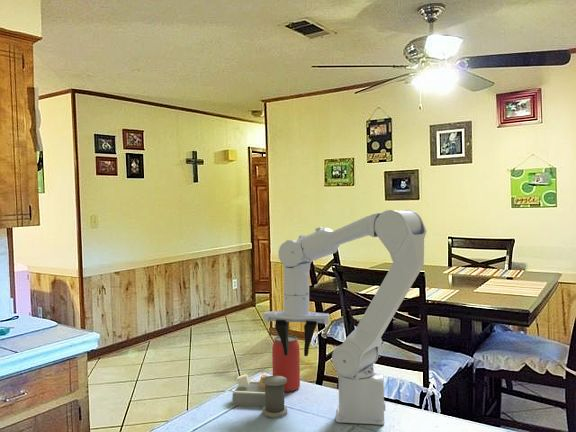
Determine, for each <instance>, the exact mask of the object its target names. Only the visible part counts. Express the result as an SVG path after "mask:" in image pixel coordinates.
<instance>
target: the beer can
mask: <svg viewBox="0 0 576 432" xmlns="http://www.w3.org/2000/svg"><path fill="white" fill-rule="evenodd" d="M273 339H274V341H273V344H272V348H271V349H272V351H271V352H272V358H271V359H272V376H283V377H285V378H287V383H285V384H284V393H286V392H287V393H290V392H293V391H296V390H299V388H300V386H301V370H300V369H301V368H300V367H301V365H300V359H301V358H300V353H301V352H300V343H299V341H298V337H297V336H294V335H289V334H288V342H289V353H288V355H284V350H283V346H282V342H281V339H280V337H279V335H277V336H275V337H274V338H273Z"/></svg>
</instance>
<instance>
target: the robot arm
mask: <svg viewBox="0 0 576 432" xmlns="http://www.w3.org/2000/svg"><path fill="white" fill-rule="evenodd" d="M314 230H315V231H314V232H312V233H310V234H307V235H305V234H300V235H298V238H297V239H296V240H291V239H287V240H286V241H284V242H283V243H282V244H280V246H279V249H278V259H279V261H280V263H281V264H283V310H279V311H278V310H277V311H276V310H274V311H265V312H264V313H263V322H264V323H265V322H266V323H268V322H275V324H274V327H275V330H276V333H277V334H278V336H279V337H280V339H281V342H282V346H283V350H284V355H288V353H289V342H288V335H289V327H290V326H289V325H290V323H304V325H303V328H304V330H303V331H304V347H303V348H304V349H303V354H304V355H303V356H304V357H308V355H309V349H310V344H311V341H312V338H313V334H314V333H315V330H316V328H317V325H318V324H324V325H329V324H330V313H327V312H326V313H324V312H314V311H310V270H311V264H312V262H313V261H316V260H318V259H322V258H325V257H328V256H330V255H333V254H336V253H337V252H338V250H339V247H340V245H343V244H346V243H349V242H353V241H355V240H357V239H358V240H359V239H361V238H365V237H367V236H370V237H372V238H378V239H379V240H380V242H381V243H382V244H383V246H384V247H385V249H386V250H387V251H388V253H389V255H390V258H391V261H392V265H391V266H390V268H389V270H388V272H387V273H386V275H385V277H384V279H383V280H382V282H381V283H380V285H379V288H378V289H377V291H376V293H375V295H374V296H373V297H372V300H371V301H370V303H369V305H368V307H367V308H366V310H365V312H364V314H363V315H362V317H361V318H360V320H359V322H358V324H357V326H356V328H355V329H354V330H353V331H351V333H350V334H348V336H347V337H346V338H345V340H344V341H343V342H342V343H341V344H339V345H338V346H337V347H335V348H334V350H333V352H332V353H331V362H332V366H333V368H334V369H335V371H336V372H337V376H338V405H337V411H336V418H335V422H336V423H346V424H361V425H362V424H364V425H379V426H381V425H382V426H383V425H384V424H385V412H386V401H385V393H384V392H385V387H384V386H385V385H384V383H385V382H384V374H383V373H377V372H375V369H374V364H376V362H377V361H378V359H379V355H380V354H379V353H380V352H379V351H380V347H381V345H382V344H383V339H382V336H383V334H384V333H385V332H386V330H387V328H388V326H389V324H390V323H391V321H392V319H393V318H394V316H395V315H396V313H397V311H398V310H399V308H400V307H401V304H402V303H403V301H404V300H405V298H406V296H407V294H408V292H409V291H410V289H411V288H412V287H413V284H414V282H415V281H416V279H417V277H418V276H419V274H420V272H421V270H422V269H423V267H424V263H425V257H424V256H425V237H426V234H427V232H428V231H427V228H426V226H425V224H424V221H423V219H422V217H421V215H420V214H419V213H418V212H416V211H414V210H412V209H404V210H403V209H402V210H395V209H394V210H393V209H387V210H384V211H382V212H376V213H373V214H369V215H367V216H364V217H363V218H360V219H357V220H356V221H353V222H351V223H349V224H347V225H344V226H342V227H340V228H337V229H335V230H333V229H332V228H329V227H324V226H319V227H316V228H315V229H314Z"/></svg>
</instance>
